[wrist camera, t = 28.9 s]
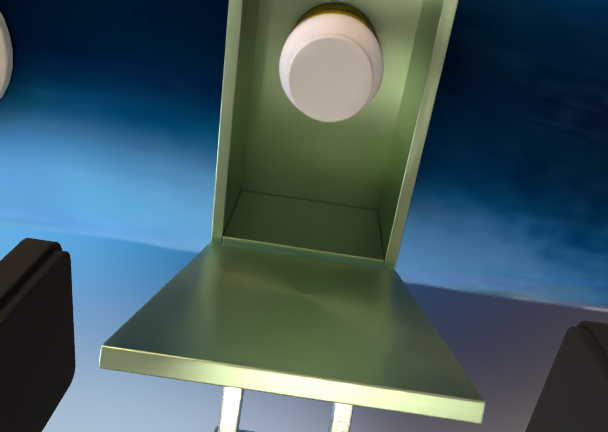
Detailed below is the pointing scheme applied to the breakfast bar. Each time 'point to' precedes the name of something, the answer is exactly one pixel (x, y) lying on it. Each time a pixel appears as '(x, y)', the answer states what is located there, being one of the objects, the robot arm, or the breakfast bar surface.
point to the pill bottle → (332, 62)
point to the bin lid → (295, 337)
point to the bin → (324, 137)
